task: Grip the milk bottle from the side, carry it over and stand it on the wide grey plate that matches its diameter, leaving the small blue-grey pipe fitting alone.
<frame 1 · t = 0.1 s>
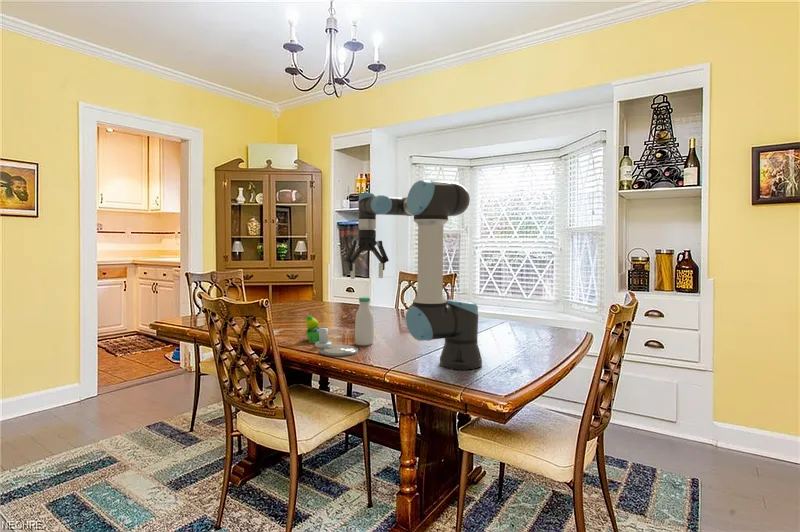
hand: (366, 278, 197), 28 cm above the table, tool pointing down, fingers open, 13 cm apart
milk bottle: (364, 344, 195), on the table
small pipe fitting: (323, 346, 190), on the table
grey plate: (339, 351, 180), on the table
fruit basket: (315, 341, 200), on the table
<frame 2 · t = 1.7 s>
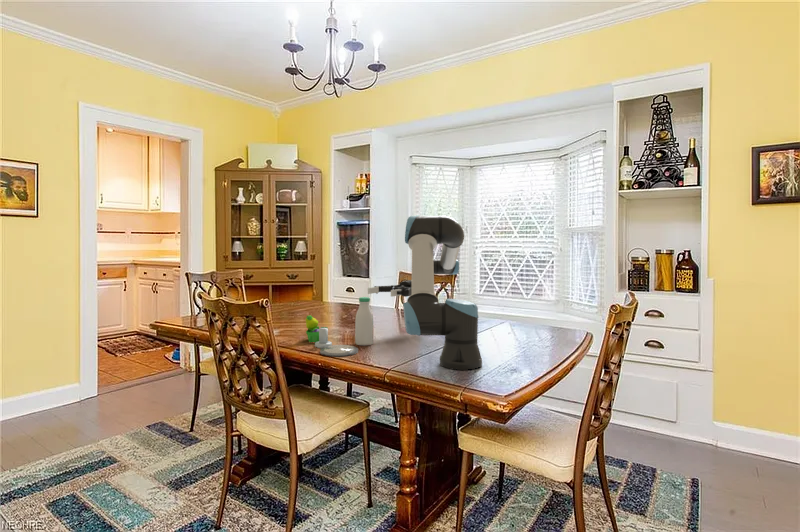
hand: (379, 292, 201), 22 cm above the table, tool horizontal, fingers open, 13 cm apart
nothing on the table moved.
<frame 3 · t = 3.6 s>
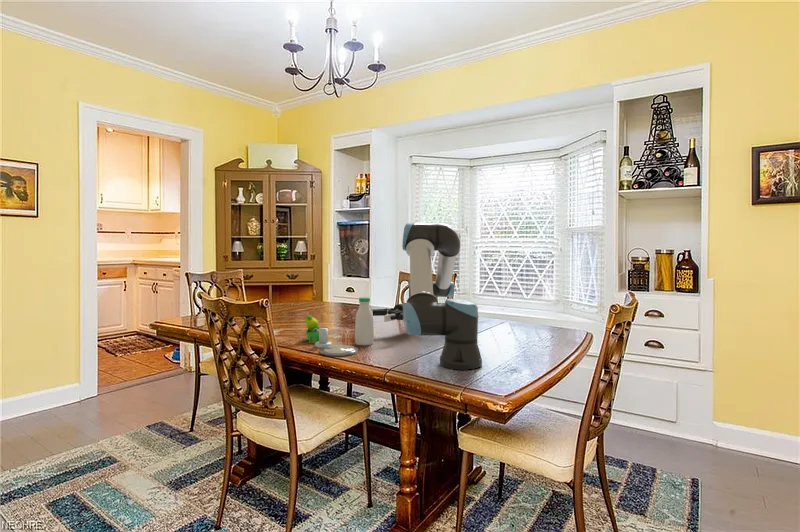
hand: (373, 316, 199), 11 cm above the table, tool horizontal, fingers open, 13 cm apart
nothing on the table moved.
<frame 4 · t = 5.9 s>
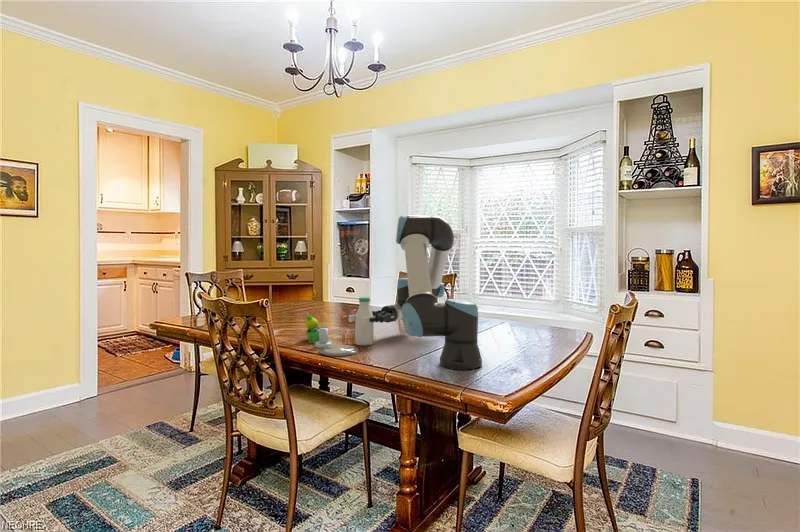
hand: (356, 319, 190), 11 cm above the table, tool horizontal, fingers closed on milk bottle, 7 cm apart
milk bottle: (364, 344, 195), on the table, touching gripper
everything else where it was.
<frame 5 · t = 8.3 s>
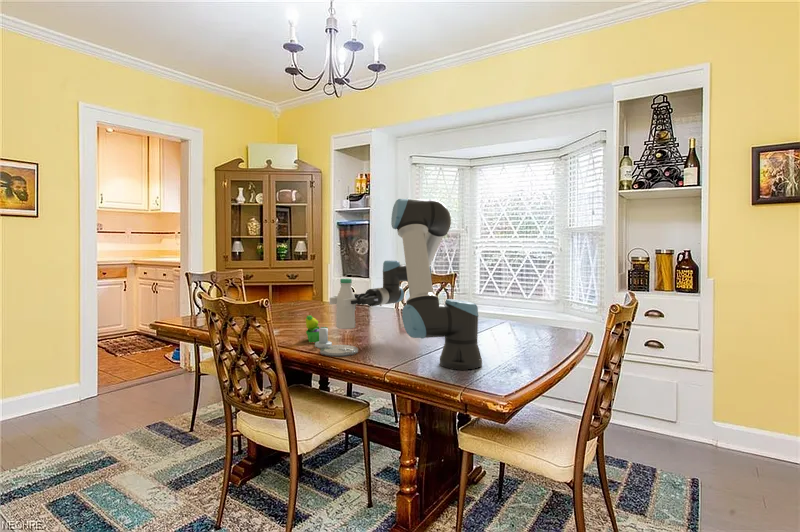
hand: (337, 302, 181), 20 cm above the table, tool horizontal, fingers closed on milk bottle, 7 cm apart
milk bottle: (345, 328, 185), point 9 cm above the table, touching gripper
everything else where it was.
when the fingers open (14 cm above the table, at t = 10.6 s): milk bottle drops 1 cm, resting on grey plate.
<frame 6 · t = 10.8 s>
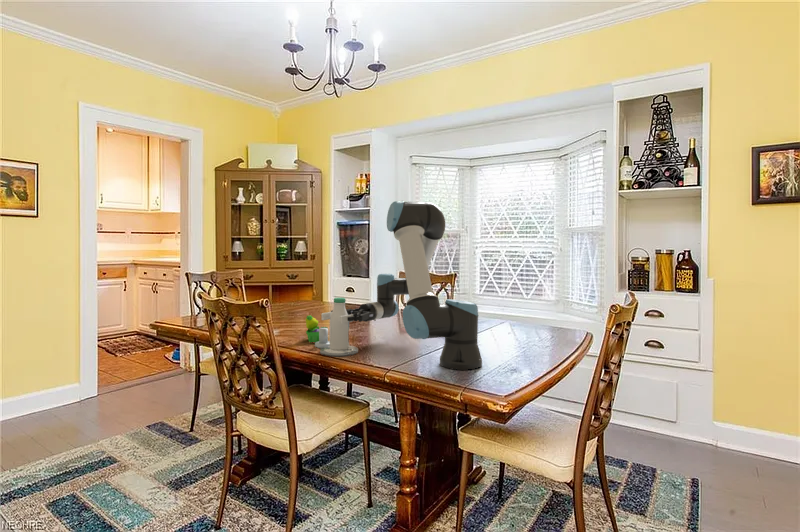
hand: (331, 318, 176), 14 cm above the table, tool horizontal, fingers open, 10 cm apart
milk bottle: (339, 348, 180), point 1 cm above the table, touching grey plate
everything else where it was.
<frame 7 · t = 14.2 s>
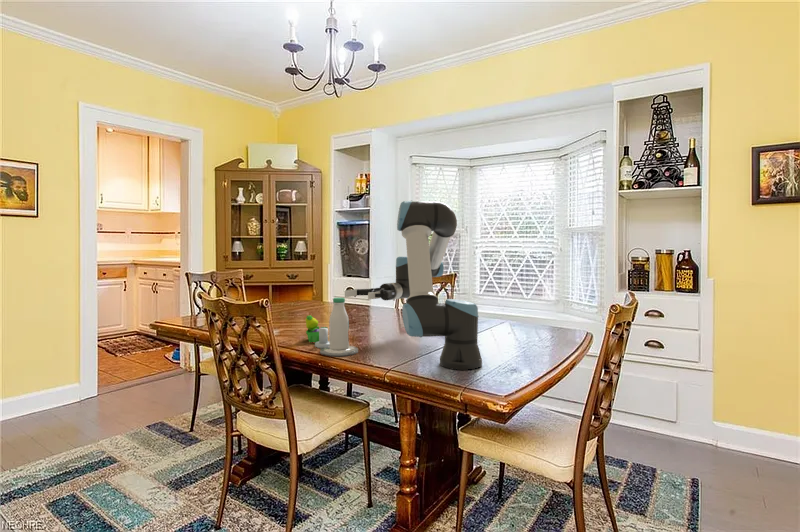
hand: (356, 294, 187), 22 cm above the table, tool horizontal, fingers open, 13 cm apart
nothing on the table moved.
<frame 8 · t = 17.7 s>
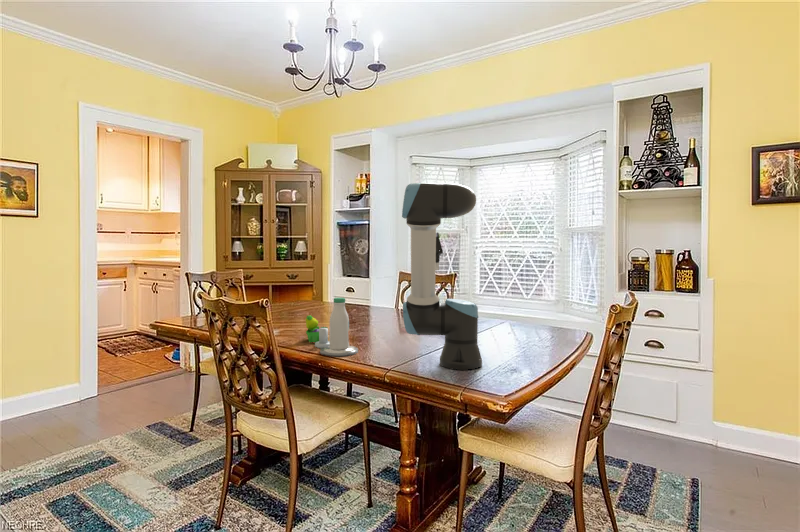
hand: (427, 269, 202), 32 cm above the table, tool pointing down, fingers open, 13 cm apart
nothing on the table moved.
at the end: milk bottle 0.1 cm off-centre on the grey plate, point 1.3 cm above the grey plate's base; milk bottle tilted 0°; the gripper is holding nothing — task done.
